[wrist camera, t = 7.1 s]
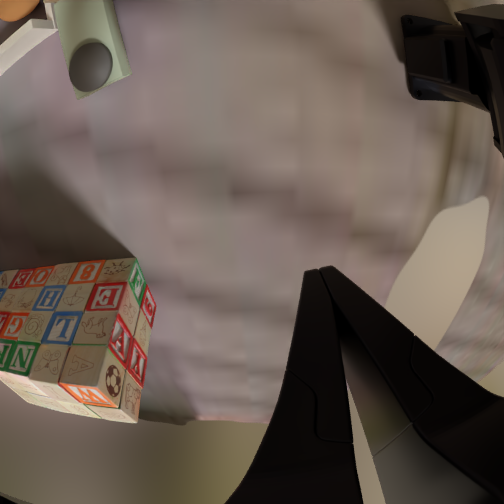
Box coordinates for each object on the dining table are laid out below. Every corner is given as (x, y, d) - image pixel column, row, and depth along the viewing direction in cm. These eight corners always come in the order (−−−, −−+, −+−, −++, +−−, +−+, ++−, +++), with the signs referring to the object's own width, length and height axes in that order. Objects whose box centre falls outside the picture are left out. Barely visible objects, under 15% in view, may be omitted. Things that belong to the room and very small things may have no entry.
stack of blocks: (16, 307, 25) (-19, 386, 16) (-9, 270, 22) (-54, 351, 12) (158, 305, 26) (139, 426, 16) (138, 254, 22) (96, 391, 12)
